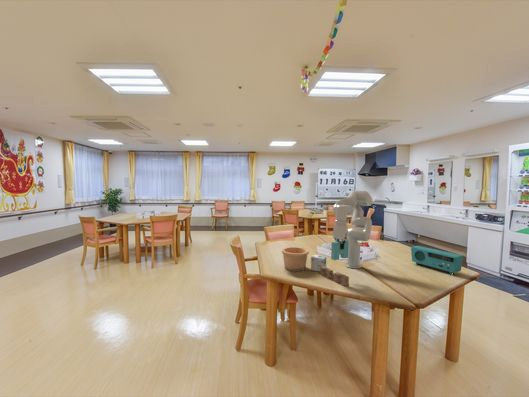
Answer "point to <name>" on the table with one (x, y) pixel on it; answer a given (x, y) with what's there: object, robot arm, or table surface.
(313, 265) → the light bulb box
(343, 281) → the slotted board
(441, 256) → the radio
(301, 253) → the pottery
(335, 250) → the teal panel
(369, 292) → the table surface
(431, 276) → the table surface
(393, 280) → the table surface
